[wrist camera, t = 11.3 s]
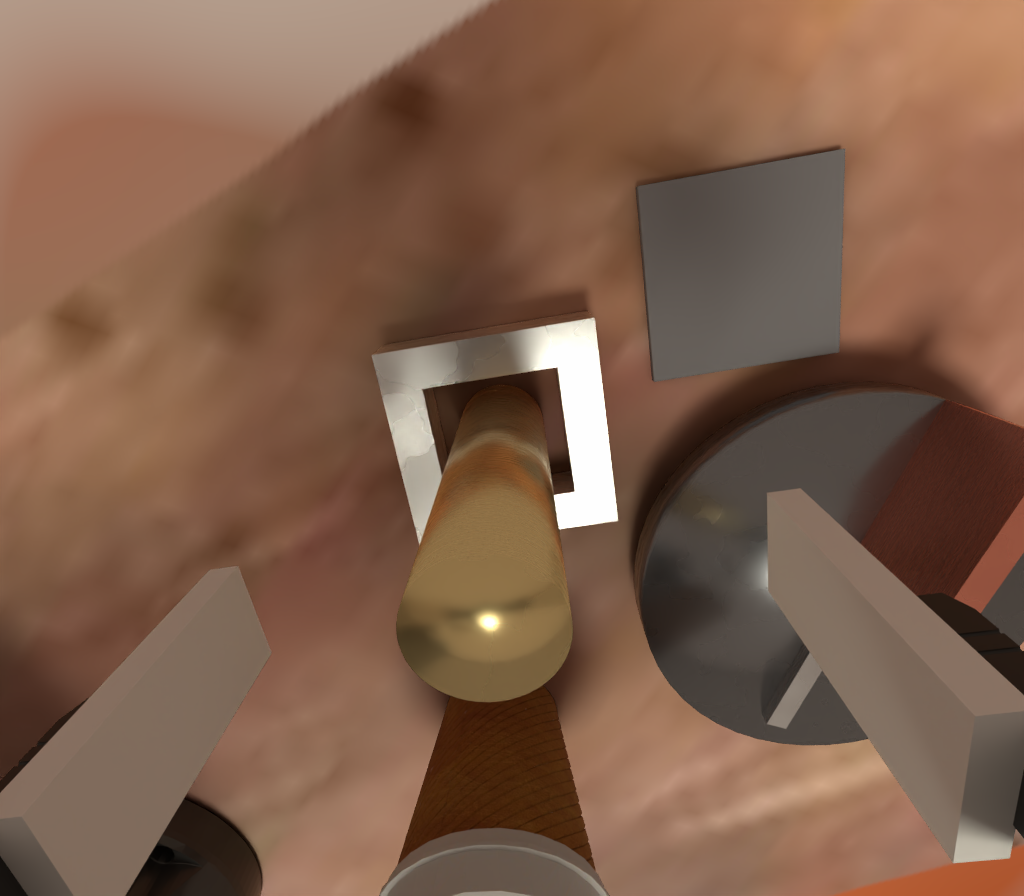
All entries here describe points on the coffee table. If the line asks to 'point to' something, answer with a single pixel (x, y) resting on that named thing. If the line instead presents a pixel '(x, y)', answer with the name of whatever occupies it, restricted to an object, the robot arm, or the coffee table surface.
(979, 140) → the coffee table surface
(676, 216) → the rest pad
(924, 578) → the compass
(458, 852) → the disposable coffee cup
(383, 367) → the grey square frame
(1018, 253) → the coffee table surface
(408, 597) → the yellow tall cylinder
